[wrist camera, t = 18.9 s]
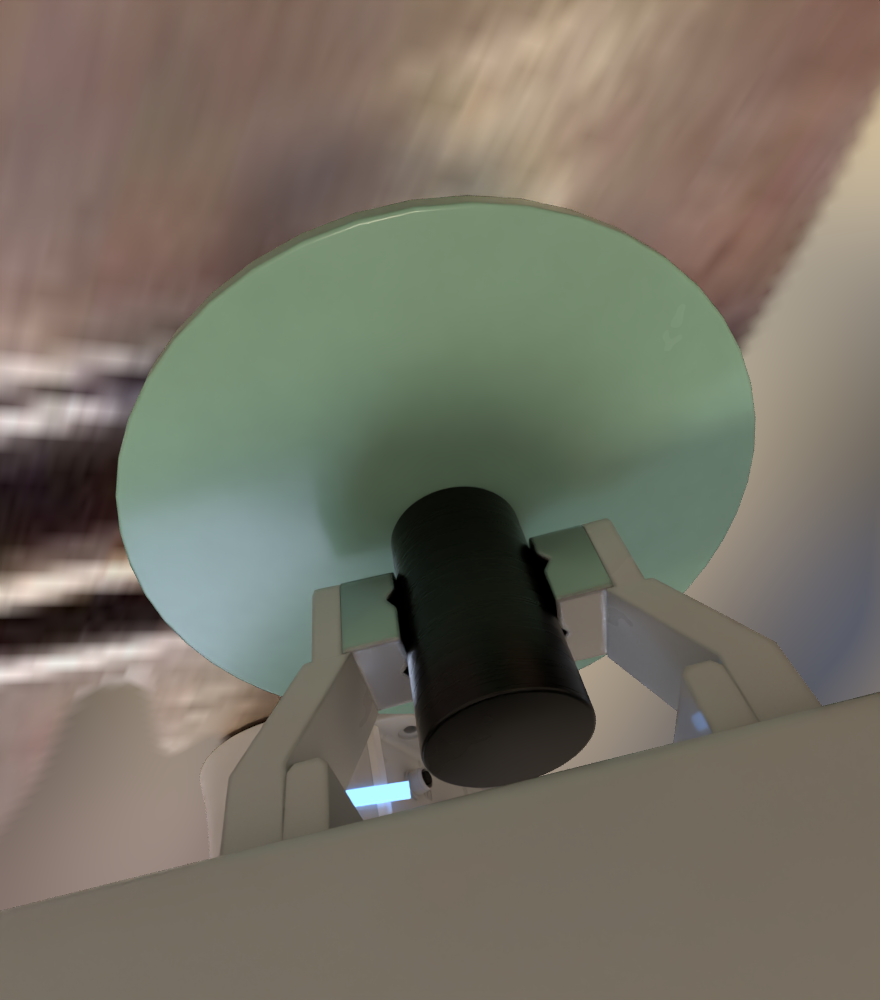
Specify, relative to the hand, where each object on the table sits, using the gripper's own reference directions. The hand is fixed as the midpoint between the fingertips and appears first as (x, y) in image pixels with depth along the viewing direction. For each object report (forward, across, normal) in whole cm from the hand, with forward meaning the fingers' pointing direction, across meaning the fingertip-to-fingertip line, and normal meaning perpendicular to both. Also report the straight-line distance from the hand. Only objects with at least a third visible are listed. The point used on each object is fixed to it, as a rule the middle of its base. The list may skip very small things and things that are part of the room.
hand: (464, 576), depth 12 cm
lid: (+2, 0, 0) cm, 2 cm away
